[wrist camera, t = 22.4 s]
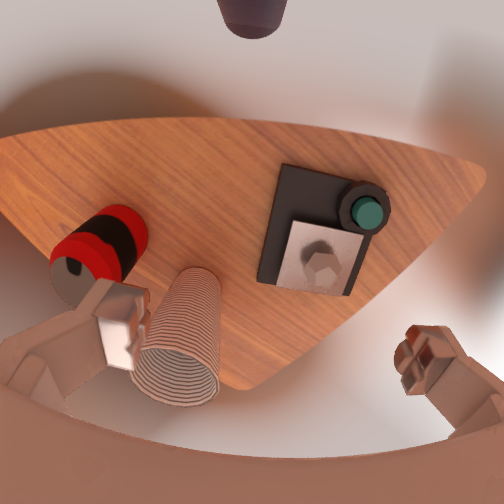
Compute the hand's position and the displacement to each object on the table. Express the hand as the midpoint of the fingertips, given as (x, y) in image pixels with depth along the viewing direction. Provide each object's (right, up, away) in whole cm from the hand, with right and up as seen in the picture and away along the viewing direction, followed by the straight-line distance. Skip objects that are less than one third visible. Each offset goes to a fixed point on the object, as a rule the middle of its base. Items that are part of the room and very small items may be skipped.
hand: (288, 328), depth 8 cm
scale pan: (+6, +1, +24) cm, 25 cm away
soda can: (-17, +5, +26) cm, 32 cm away
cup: (-8, -2, +29) cm, 30 cm away
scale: (+7, +4, +26) cm, 27 cm away
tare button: (+11, +7, +22) cm, 25 cm away
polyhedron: (+6, +1, +24) cm, 25 cm away
